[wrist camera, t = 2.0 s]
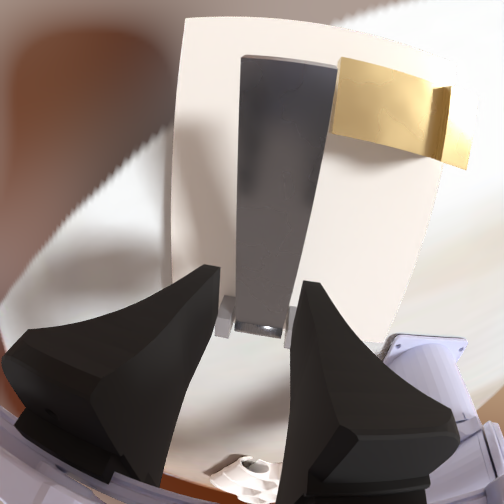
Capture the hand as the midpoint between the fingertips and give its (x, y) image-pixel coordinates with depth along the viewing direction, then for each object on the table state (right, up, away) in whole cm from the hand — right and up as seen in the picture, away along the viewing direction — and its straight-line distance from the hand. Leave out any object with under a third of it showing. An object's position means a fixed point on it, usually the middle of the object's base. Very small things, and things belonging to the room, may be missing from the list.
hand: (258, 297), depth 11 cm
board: (+3, +6, +7) cm, 10 cm away
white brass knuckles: (+2, -33, +27) cm, 43 cm away
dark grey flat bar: (+1, +3, +4) cm, 5 cm away
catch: (+7, +9, +3) cm, 12 cm away
